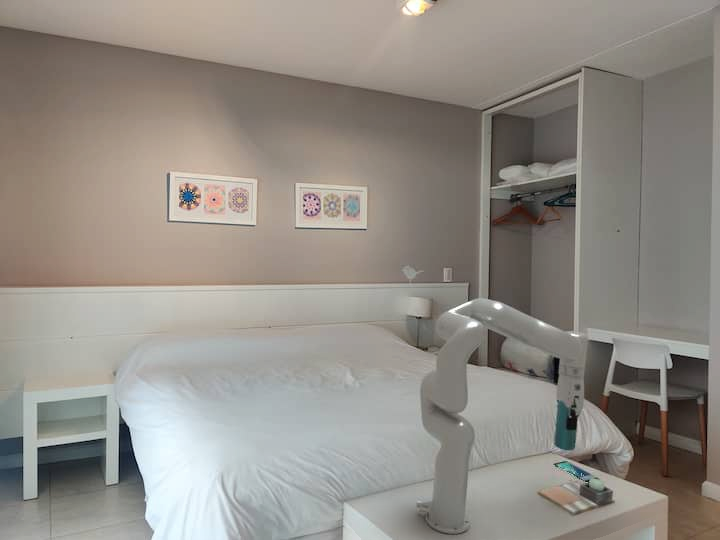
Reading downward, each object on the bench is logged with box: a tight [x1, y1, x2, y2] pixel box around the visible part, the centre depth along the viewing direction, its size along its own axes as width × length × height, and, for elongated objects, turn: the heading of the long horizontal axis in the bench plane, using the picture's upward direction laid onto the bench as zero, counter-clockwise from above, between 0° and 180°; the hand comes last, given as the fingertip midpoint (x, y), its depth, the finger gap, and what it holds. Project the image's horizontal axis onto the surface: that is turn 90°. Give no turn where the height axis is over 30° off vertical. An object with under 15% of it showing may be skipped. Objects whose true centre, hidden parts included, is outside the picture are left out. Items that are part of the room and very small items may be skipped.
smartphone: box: [553, 460, 600, 483], centre depth 187 cm, size 7×1×15 cm
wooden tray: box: [537, 480, 616, 516], centre depth 168 cm, size 20×14×4 cm
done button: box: [589, 478, 605, 493], centre depth 167 cm, size 4×4×3 cm
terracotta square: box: [538, 485, 581, 506], centre depth 167 cm, size 9×9×1 cm
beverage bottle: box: [553, 400, 578, 452], centre depth 165 cm, size 6×7×20 cm
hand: (566, 424), depth 165 cm, fingers closed on beverage bottle, 6 cm apart
